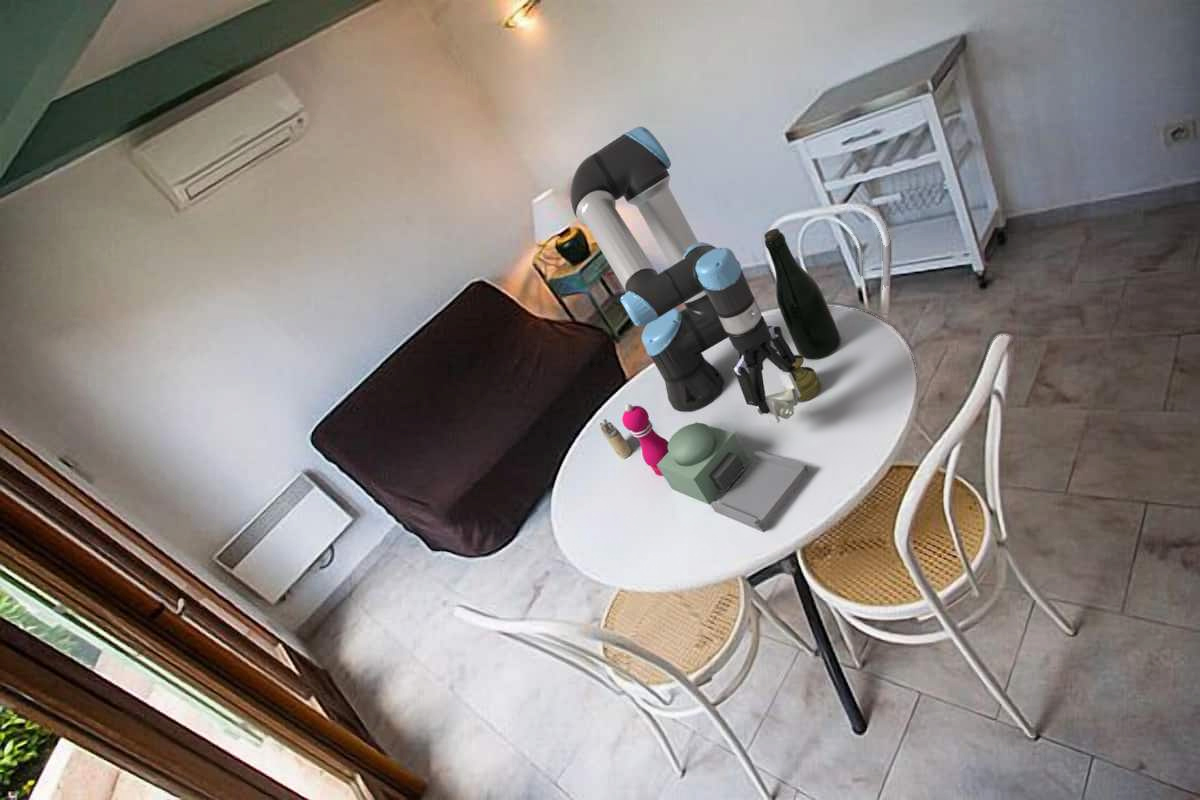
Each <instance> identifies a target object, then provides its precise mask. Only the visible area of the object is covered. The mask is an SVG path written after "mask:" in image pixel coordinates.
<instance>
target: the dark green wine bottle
mask: <svg viewBox="0 0 1200 800" xmlns="http://www.w3.org/2000/svg"><path fill="white" fill-rule="evenodd" d="M764 246H765V248H766V249H767V252H768V253H769V256H770V258H771V261H772V264H773V267H774V271H775V272H774V273H775V281H776V282H775V295H776V296H775V297H776V301H777V305H778V308H779V311H780V314H781V316H782V318H783V321H784V323H785V326H786V329H787V330H788V332H789V335H790V337H791V339H792V342H793V345H794V347H795V348H796V351H797V354H798V355H800V356H802V357H803V359H806V360H818V359H821V358H824V357H827V356H829V355H831V354H832V353H833V352H835V351H836V350H837V349H838V348H839V346H840V344H841V342H842V337H841V334H840V332H839V330H838V326H837V325H836V322H835V320H834V318H833V315H832V313H831V310H830V309H829V306H828V303H827V300H826V299H825V297H824V295H823V292H822V290H821V288H820V286H819V285H818V283H817V282H816V280H815V279H814V278H813V277H812V276H811V275H810V274H809V273H808V272H807V271H806V270H805V269H804V268H803V267H802V266H801V265H800V264H799V263H798V261H797V260H796V259H795V257H794V255H793V253H792V252H791V250H790V248H789V245H788V243H787V241H786V236H785V234H783V232H781V231H780V229H779V228H772V229H771V230H768V231H767V232H766V233H764Z"/></svg>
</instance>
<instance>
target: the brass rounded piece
mask: <svg viewBox="0 0 1200 800" xmlns="http://www.w3.org/2000/svg"><path fill="white" fill-rule="evenodd" d="M794 356H795V358H796V363H793V365H792V366H795V371H794V372H793V373H794V376H795V378H796V381H795V383H796V385H797V387H798V390H799V392H800V394H801V396H800V398H797V400H798V403H799V402H800V403H801V402H802V403H803V402H807V401H809V400H810V401H811V399H814V398H815V397H816V396H817V395H819V393H820V392H821V389H822V385H821V383H820V382H821V381H820V378H819V377H818V376H817V373H816V370H815V369H813V368H812V367H810V366H803V364H804V361H805V360H804V359H805V358H803V357H802V356H800V355H799V354H794Z"/></svg>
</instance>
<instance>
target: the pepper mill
mask: <svg viewBox="0 0 1200 800" xmlns="http://www.w3.org/2000/svg"><path fill="white" fill-rule="evenodd" d="M624 410H625V411H624V412H623V414H622V418H621V421H622V424H623V426H624V427H625V429H627V430H628V431H630V432H631V434H632V436H633V437H634V438H636V439H638V442H639V443H640V446H641V455H642V458H643V461H644V463H645V464H646V465H647V466H649V467H651V469H652V471H653V472H654V474H655V475H657V476H659V477H662V476H663V474H662V473H661V471H660V470H659V468H658V467H657V464H658V463H659V462H660V461H661V460H662V459H663V457H664V456H665V455H666V454H667V453H668V452H669V451H668V443H669V440H667V439H666V438H664V437H662V436H661V435H660V434H658V433H657V432H656V431H655V430H654V429H653V428H654V427H653V423H652V421H651V419H650V418H649V413H648V411H647V410H646V408H644V407H642V406H640V405H632V404H631V403H628V404H627V403H626V404H625V406H624ZM663 477H664V476H663Z"/></svg>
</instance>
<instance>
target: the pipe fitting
mask: <svg viewBox="0 0 1200 800" xmlns="http://www.w3.org/2000/svg"><path fill="white" fill-rule="evenodd" d="M765 396H766V397H767V398H770V400H771V402H772V404H773V406H774V408H775V410H776V413H777V415H778V417H779V418H782V419H783V420H789V419H790V418H791V417H792V416H794V414H795V408H794V407H796V406H797V405H798V403H799V402H798V400H797V396H796V394H795V392H794V389H793V388H790V389H785V390H784V391H780V392H776V393H773V394H769V395H765ZM755 408H756V410H757V412H758V414H759V415H765V413H762V412H761V411H760V409H759V407H758V406H755Z"/></svg>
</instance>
